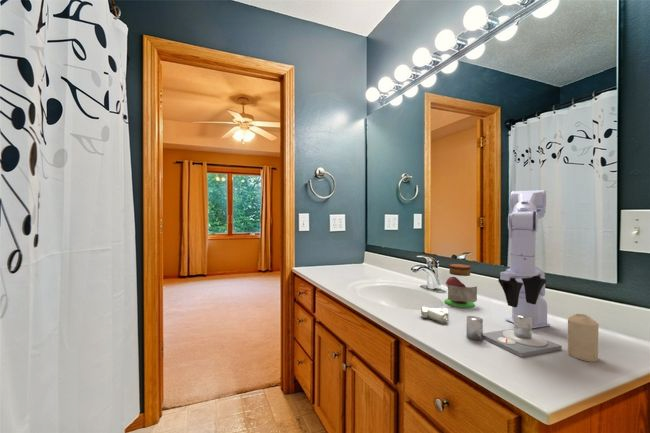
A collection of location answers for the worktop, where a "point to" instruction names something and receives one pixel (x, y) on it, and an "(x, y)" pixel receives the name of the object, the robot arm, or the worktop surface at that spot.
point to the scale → (521, 343)
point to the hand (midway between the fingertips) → (521, 304)
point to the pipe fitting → (435, 314)
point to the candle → (583, 337)
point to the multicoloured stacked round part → (460, 288)
